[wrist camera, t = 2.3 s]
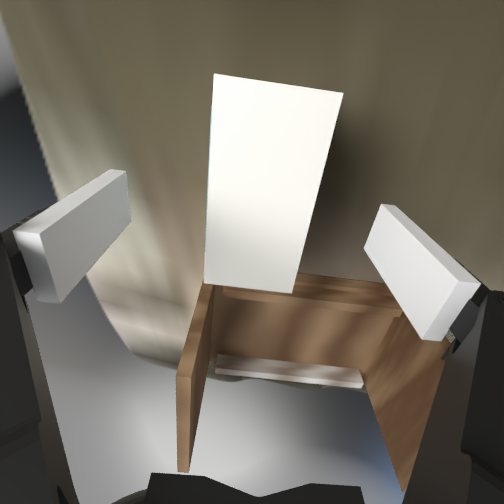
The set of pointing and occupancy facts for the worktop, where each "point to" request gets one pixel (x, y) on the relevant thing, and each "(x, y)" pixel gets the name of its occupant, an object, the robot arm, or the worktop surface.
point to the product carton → (263, 179)
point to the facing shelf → (315, 353)
